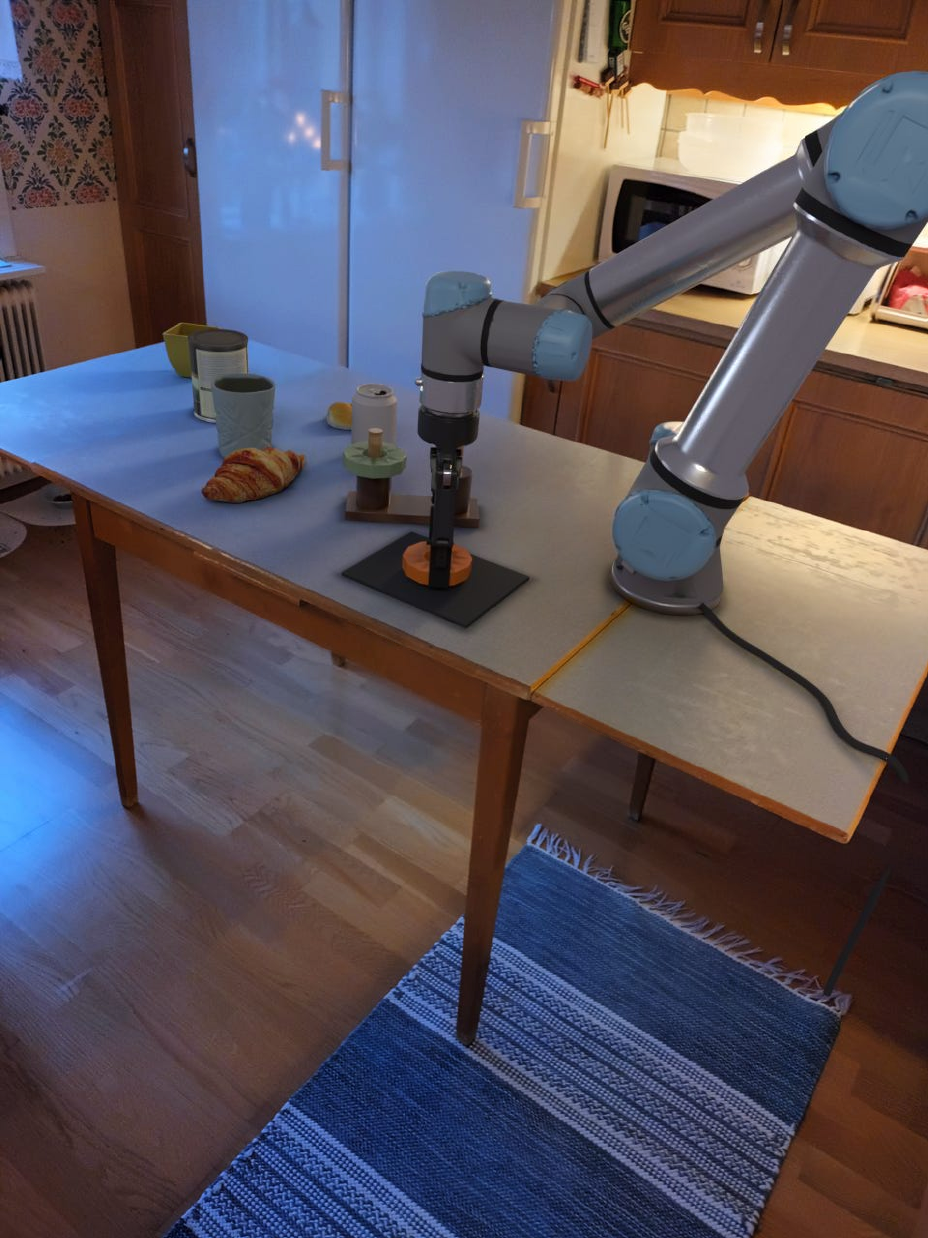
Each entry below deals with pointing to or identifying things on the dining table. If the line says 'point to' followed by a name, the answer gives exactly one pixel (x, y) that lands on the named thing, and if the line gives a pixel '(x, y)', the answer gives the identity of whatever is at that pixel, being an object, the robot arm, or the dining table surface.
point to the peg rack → (404, 497)
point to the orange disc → (419, 561)
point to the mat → (448, 603)
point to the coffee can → (214, 364)
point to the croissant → (253, 474)
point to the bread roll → (340, 415)
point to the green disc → (374, 461)
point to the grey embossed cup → (243, 411)
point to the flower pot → (181, 346)
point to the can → (373, 412)
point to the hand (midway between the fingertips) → (438, 567)
